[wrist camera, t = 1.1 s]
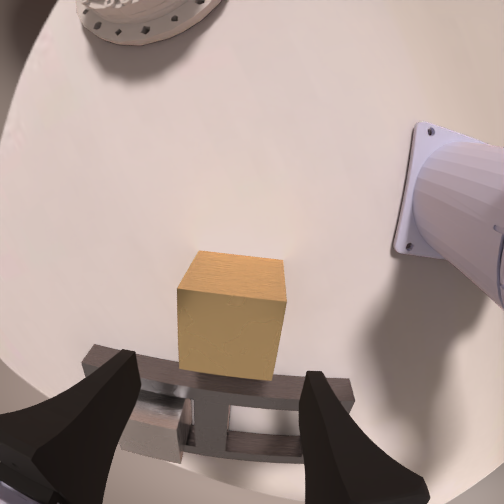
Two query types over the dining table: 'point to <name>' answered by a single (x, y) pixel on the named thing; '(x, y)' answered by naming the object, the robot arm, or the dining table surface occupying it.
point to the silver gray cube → (158, 426)
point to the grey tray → (225, 406)
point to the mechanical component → (141, 18)
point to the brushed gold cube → (231, 315)
